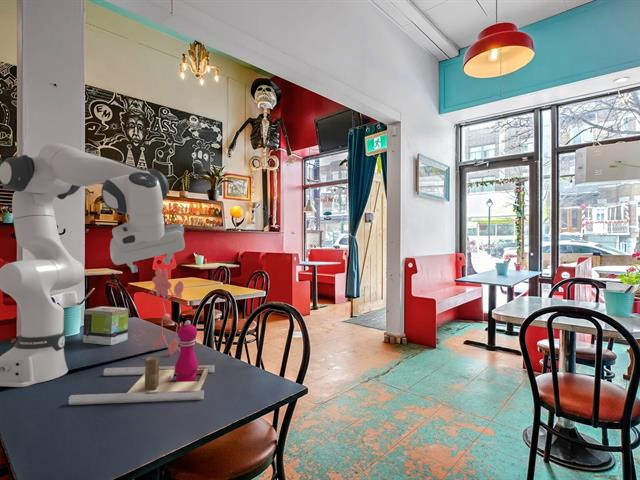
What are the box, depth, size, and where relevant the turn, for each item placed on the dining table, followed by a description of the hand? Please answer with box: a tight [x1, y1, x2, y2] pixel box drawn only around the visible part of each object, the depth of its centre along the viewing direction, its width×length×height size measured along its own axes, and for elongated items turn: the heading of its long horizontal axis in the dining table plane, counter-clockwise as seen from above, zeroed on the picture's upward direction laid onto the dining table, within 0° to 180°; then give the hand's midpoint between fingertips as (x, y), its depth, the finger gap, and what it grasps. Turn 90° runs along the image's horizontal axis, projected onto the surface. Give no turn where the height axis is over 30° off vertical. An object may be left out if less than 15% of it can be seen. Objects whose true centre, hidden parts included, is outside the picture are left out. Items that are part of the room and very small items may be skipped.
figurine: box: [137, 267, 185, 361], centre depth 138 cm, size 15×26×35 cm, turn 54°
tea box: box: [82, 306, 129, 346], centre depth 153 cm, size 15×10×15 cm, turn 77°
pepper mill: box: [174, 320, 199, 382], centre depth 114 cm, size 7×7×20 cm
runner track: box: [68, 364, 215, 406], centre depth 109 cm, size 36×22×2 cm, turn 99°
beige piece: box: [126, 356, 209, 393], centre depth 109 cm, size 20×19×10 cm
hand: (151, 267), depth 106 cm, fingers open, 8 cm apart
